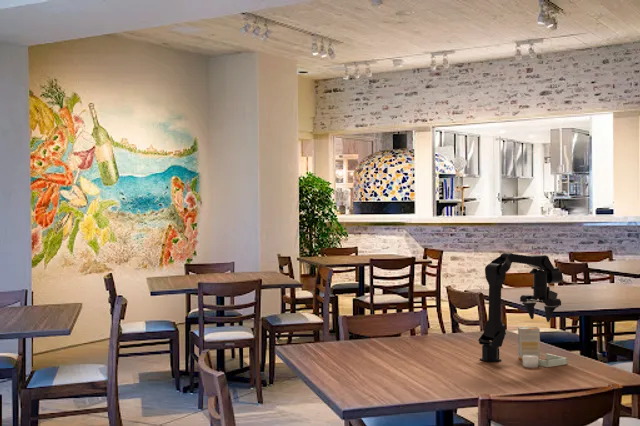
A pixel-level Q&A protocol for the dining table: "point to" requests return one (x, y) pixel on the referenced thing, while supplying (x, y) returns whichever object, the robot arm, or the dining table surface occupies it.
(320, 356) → the dining table surface
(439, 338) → the dining table surface
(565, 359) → the squared c-shaped bracket
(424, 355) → the dining table surface
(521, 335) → the supplement box
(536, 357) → the white rounded block
